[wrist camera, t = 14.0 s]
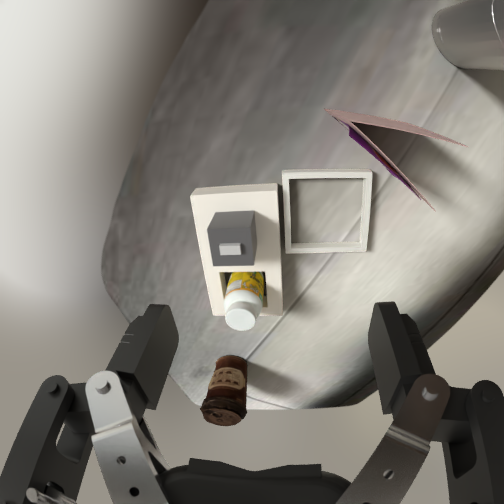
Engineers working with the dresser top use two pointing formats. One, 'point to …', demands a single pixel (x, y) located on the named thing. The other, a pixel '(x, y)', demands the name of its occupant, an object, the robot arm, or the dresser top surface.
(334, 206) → the dresser top surface
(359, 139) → the greeting card
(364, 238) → the tray
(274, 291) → the white holder base
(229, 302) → the supplement bottle
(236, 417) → the coffee cup
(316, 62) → the dresser top surface
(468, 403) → the robot arm
